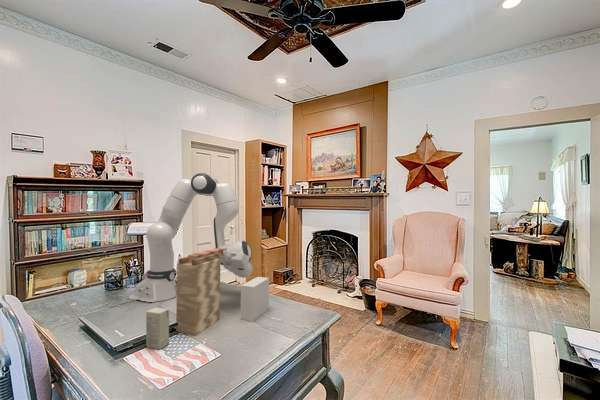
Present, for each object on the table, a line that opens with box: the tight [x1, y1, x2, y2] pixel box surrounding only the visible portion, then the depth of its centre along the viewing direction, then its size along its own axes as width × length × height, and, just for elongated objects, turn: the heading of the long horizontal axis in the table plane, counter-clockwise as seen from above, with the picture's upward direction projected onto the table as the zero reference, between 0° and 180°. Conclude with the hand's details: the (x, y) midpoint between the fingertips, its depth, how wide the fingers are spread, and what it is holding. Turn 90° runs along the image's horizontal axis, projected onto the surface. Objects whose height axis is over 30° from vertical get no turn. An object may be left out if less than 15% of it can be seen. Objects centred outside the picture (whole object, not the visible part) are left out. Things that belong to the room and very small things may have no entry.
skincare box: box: [145, 306, 170, 350], centre depth 98 cm, size 6×4×12 cm
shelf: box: [239, 276, 270, 323], centre depth 126 cm, size 15×6×14 cm, turn 161°
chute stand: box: [175, 253, 221, 337], centre depth 113 cm, size 15×9×28 cm, turn 161°
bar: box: [187, 247, 227, 263], centre depth 119 cm, size 20×4×3 cm, turn 161°
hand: (217, 251), depth 125 cm, fingers closed on bar, 4 cm apart
